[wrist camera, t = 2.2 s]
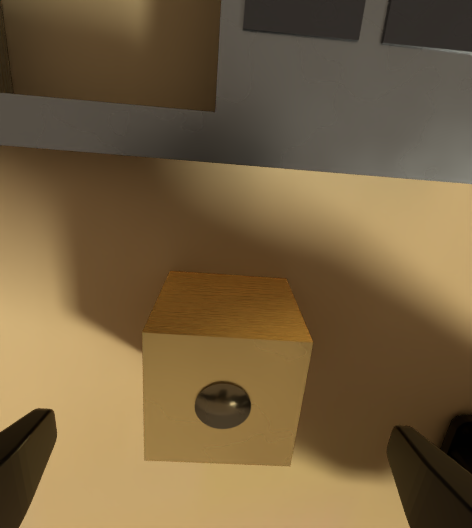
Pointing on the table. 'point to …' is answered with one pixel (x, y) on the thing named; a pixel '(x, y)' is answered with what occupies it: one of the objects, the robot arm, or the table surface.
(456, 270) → the table surface
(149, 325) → the wooden block
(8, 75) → the panel
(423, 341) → the table surface
